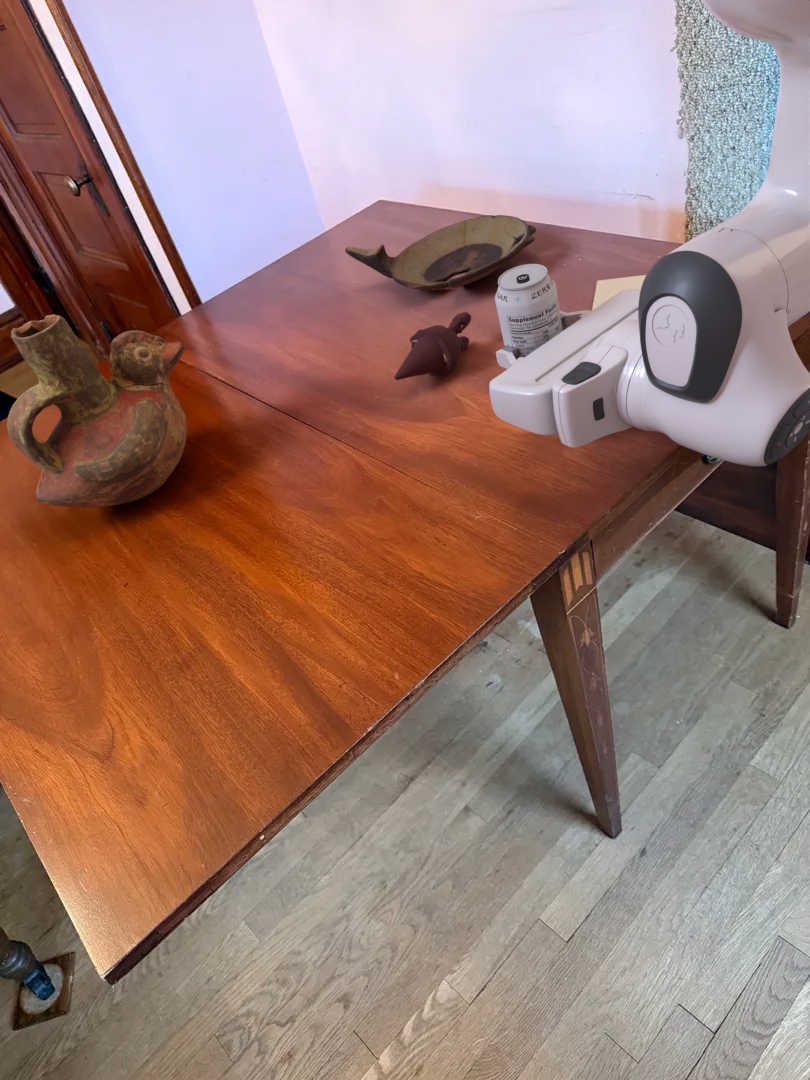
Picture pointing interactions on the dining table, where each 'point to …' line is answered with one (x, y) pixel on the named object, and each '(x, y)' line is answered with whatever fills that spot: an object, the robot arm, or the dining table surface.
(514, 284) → the energy drink can
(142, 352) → the ceramic vessel
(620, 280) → the beige rectangular board
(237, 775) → the dining table surface
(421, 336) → the maroon pointed figurine
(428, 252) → the olive ceramic shallow bowl
